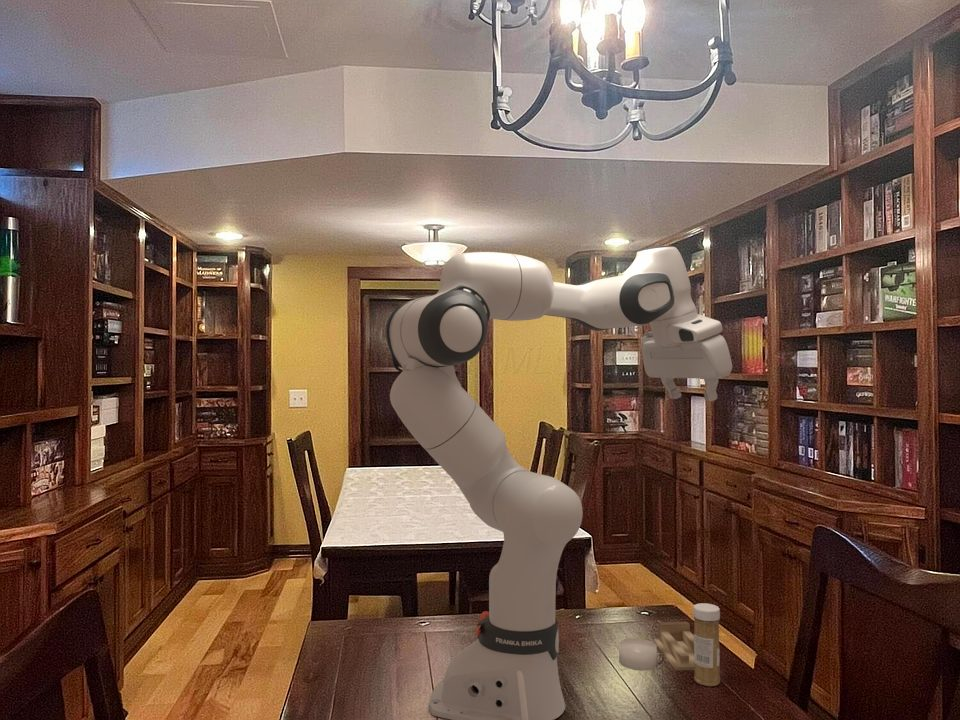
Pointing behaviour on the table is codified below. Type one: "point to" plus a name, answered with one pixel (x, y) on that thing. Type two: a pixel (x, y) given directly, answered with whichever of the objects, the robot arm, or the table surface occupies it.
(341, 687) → the table surface
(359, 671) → the table surface
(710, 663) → the sprinkles bottle
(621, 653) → the cream dish
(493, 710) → the robot arm
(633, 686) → the table surface
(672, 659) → the u rest
